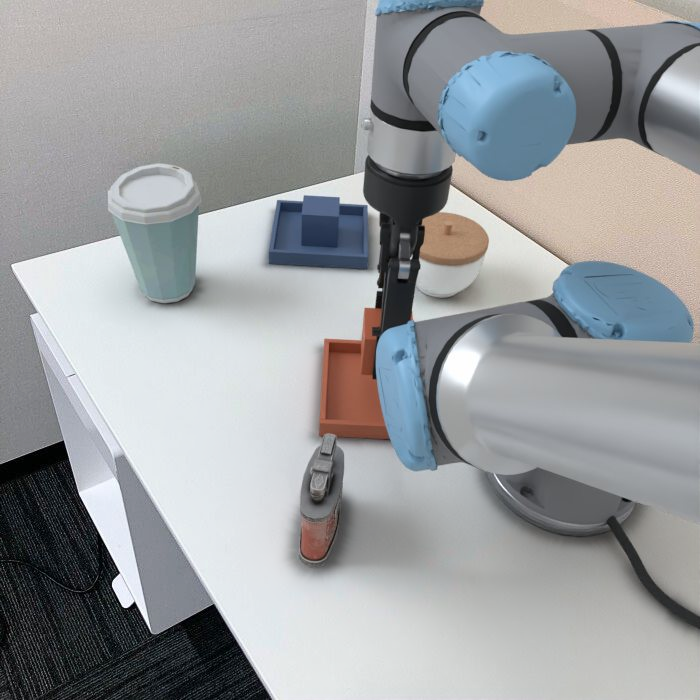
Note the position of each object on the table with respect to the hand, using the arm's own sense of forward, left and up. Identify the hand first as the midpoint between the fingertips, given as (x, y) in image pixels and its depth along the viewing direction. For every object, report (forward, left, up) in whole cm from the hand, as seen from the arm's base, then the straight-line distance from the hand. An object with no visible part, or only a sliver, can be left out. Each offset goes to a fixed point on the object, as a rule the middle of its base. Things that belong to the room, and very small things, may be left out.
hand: (384, 358), depth 78 cm
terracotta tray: (0, 0, -5) cm, 5 cm away
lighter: (-18, +6, -5) cm, 20 cm away
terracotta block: (0, 0, 0) cm, 0 cm away
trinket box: (+21, -8, -5) cm, 23 cm away
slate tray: (+30, +8, -5) cm, 31 cm away
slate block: (+30, +8, -5) cm, 31 cm away
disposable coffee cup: (+17, +27, -5) cm, 32 cm away
